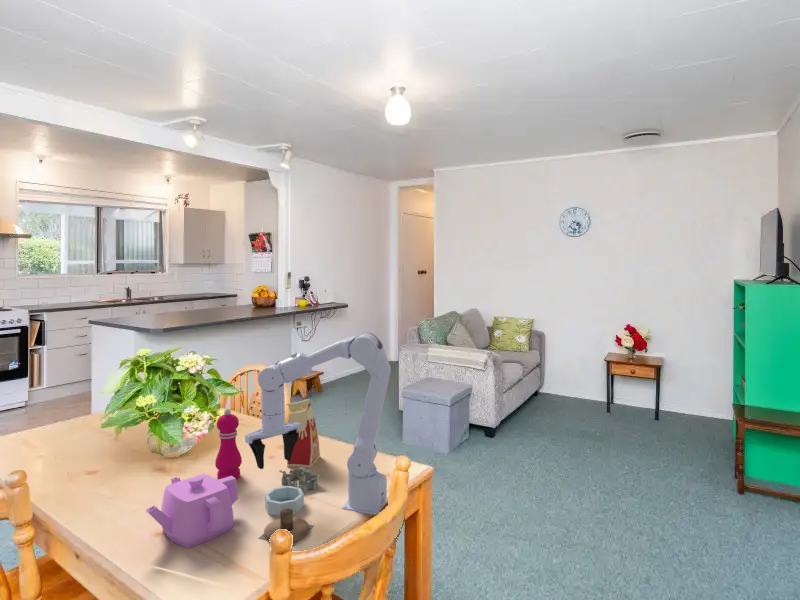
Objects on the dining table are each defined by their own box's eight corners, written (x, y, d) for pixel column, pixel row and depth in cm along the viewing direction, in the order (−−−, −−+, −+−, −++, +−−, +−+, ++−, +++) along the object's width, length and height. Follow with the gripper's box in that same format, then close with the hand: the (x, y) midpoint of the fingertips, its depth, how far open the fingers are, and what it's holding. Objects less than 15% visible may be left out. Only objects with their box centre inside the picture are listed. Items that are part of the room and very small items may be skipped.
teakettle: (224, 549, 107) (223, 494, 106) (143, 552, 106) (141, 496, 105) (243, 510, 124) (242, 462, 123) (173, 512, 123) (172, 464, 122)
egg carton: (277, 484, 139) (277, 469, 139) (300, 476, 144) (300, 462, 144) (298, 496, 132) (298, 481, 131) (322, 487, 137) (321, 473, 137)
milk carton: (320, 456, 158) (319, 395, 157) (312, 468, 149) (311, 403, 148) (292, 455, 159) (291, 394, 158) (282, 466, 150) (281, 402, 149)
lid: (316, 524, 116) (316, 505, 116) (294, 547, 107) (293, 526, 107) (280, 517, 120) (279, 498, 119) (255, 539, 110) (254, 518, 110)
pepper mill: (233, 483, 139) (232, 413, 137) (210, 481, 140) (208, 412, 139) (246, 472, 146) (245, 406, 144) (224, 470, 147) (222, 404, 146)
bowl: (309, 502, 128) (309, 489, 128) (290, 519, 119) (290, 505, 119) (279, 496, 131) (279, 484, 131) (258, 513, 122) (258, 499, 122)
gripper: (290, 403, 134) (291, 451, 135) (239, 414, 125) (240, 466, 126) (304, 409, 129) (305, 459, 130) (251, 421, 120) (253, 475, 121)
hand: (274, 463), depth 128 cm, fingers open, 7 cm apart
